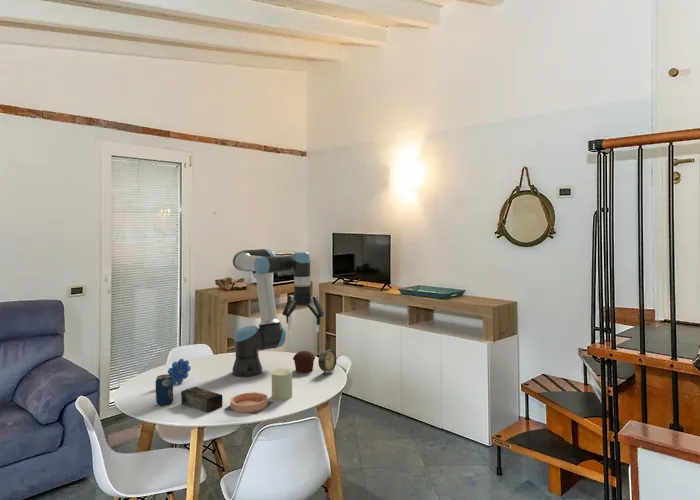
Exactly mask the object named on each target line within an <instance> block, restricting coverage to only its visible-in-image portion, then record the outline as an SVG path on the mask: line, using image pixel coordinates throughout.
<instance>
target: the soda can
mask: <svg viewBox="0 0 700 500" xmlns="http://www.w3.org/2000/svg"><path fill="white" fill-rule="evenodd" d="M173 402H174V384H173V379H172V377H171V375H170V374H168V373H167V374H160V375H157V376H156V379H155V403H156V405H160V406H159V407H167V406H166V405H168V406H170V405H172V404H173ZM171 403H172V404H171Z"/></svg>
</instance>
